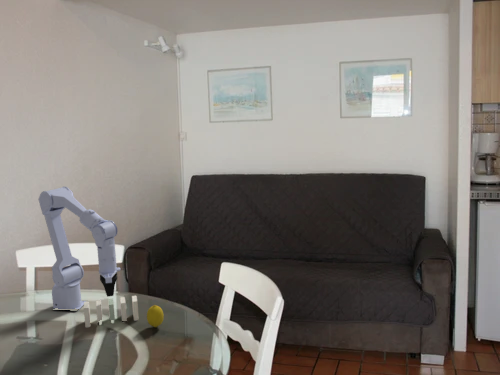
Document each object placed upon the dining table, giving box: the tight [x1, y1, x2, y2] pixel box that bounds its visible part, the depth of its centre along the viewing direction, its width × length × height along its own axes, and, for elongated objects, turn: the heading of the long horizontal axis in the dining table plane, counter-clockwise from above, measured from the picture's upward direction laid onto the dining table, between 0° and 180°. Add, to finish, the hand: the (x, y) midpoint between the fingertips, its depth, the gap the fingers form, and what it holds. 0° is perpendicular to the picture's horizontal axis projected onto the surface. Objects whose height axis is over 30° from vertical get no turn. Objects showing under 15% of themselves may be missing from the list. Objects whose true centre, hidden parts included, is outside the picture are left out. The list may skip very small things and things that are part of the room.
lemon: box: [146, 304, 165, 328], centre depth 177 cm, size 6×6×8 cm
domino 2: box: [95, 299, 103, 322], centre depth 181 cm, size 2×5×7 cm, turn 15°
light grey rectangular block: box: [83, 301, 92, 328], centre depth 180 cm, size 2×5×7 cm, turn 16°
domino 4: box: [119, 296, 128, 322], centre depth 184 cm, size 2×5×7 cm, turn 16°
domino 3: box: [107, 298, 116, 321], centre depth 182 cm, size 2×5×7 cm, turn 15°
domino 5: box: [131, 295, 140, 322], centre depth 185 cm, size 2×5×7 cm, turn 15°
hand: (110, 295), depth 181 cm, fingers closed
